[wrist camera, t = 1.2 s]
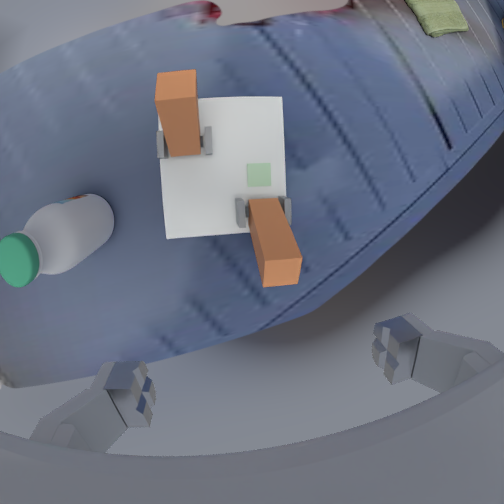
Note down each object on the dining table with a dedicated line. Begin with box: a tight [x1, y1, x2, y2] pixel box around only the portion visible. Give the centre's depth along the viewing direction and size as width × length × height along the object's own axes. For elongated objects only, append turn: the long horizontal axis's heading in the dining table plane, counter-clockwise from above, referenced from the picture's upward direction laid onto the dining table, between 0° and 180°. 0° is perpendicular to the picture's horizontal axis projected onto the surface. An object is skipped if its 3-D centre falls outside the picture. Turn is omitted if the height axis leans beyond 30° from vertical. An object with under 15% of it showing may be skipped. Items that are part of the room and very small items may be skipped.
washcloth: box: [405, 0, 469, 37], centre depth 32 cm, size 13×18×3 cm
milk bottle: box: [0, 194, 114, 287], centre depth 27 cm, size 8×8×20 cm
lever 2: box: [245, 198, 302, 287], centre depth 33 cm, size 4×4×12 cm
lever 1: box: [155, 69, 203, 157], centre depth 28 cm, size 4×4×12 cm
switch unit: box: [156, 97, 291, 239], centre depth 35 cm, size 16×18×6 cm
